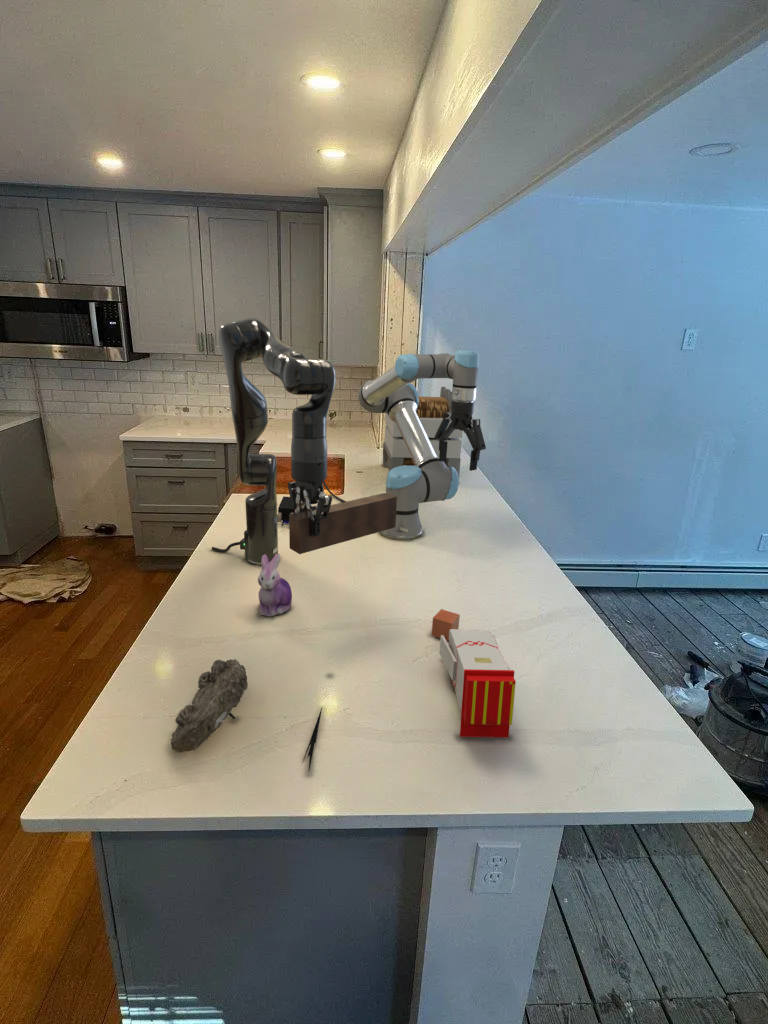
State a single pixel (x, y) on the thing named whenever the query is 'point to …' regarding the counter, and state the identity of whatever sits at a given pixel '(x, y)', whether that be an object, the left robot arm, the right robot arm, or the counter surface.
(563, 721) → the counter surface
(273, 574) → the figurine
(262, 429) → the left robot arm
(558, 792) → the counter surface
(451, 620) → the terracotta block
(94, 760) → the counter surface
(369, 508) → the plank
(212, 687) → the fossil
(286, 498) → the figurine character
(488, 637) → the toy
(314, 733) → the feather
